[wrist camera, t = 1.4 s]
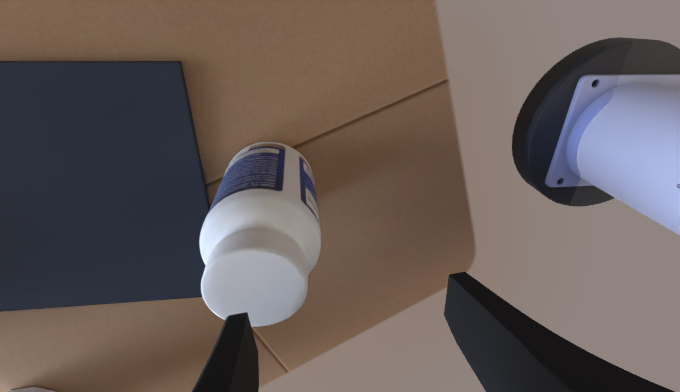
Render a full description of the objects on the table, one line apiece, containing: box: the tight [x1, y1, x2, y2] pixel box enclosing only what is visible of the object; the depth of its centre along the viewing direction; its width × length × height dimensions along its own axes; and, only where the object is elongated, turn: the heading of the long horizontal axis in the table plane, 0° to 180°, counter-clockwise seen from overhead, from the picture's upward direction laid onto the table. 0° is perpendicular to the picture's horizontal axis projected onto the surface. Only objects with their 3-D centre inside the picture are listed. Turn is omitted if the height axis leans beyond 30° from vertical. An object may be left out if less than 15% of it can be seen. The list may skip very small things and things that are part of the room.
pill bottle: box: [199, 141, 321, 327], centre depth 17 cm, size 5×5×10 cm
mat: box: [0, 61, 210, 311], centre depth 20 cm, size 20×16×1 cm
